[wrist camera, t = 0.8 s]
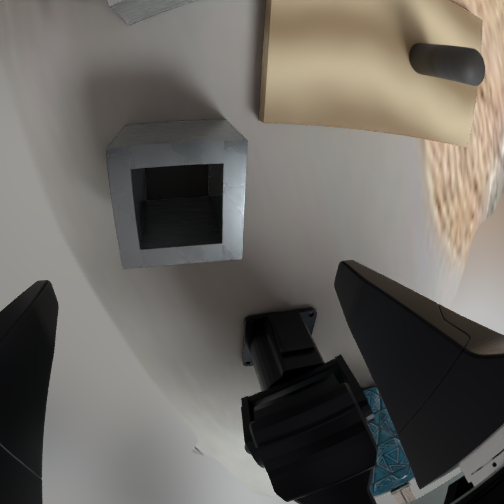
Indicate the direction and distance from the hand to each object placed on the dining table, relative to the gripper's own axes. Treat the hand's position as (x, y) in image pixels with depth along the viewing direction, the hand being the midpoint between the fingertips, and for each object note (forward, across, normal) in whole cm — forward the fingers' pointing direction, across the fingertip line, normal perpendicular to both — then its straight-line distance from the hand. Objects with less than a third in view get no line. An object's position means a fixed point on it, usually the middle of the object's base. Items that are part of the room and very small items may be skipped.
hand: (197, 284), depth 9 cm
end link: (+12, 0, 0) cm, 12 cm away
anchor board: (+12, -13, -9) cm, 20 cm away
